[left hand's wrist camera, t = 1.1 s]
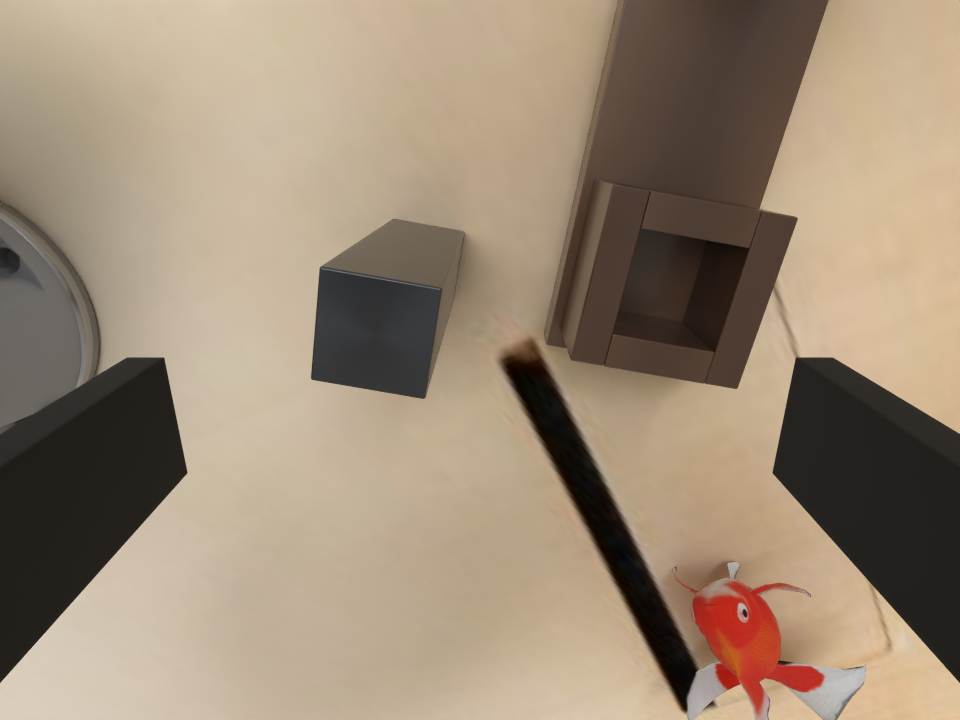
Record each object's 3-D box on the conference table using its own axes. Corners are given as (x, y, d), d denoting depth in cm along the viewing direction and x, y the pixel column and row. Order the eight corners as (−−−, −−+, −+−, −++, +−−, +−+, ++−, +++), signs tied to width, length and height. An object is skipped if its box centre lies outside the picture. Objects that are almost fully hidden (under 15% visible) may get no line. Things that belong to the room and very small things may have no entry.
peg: (384, 289, 33) (310, 380, 20) (393, 218, 32) (319, 266, 19) (453, 301, 33) (424, 400, 20) (464, 231, 32) (442, 288, 19)
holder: (543, 334, 34) (567, 426, 22) (670, -234, 25) (814, -553, 14) (693, 360, 34) (791, 464, 23) (871, -192, 25) (1175, -469, 14)
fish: (863, 525, 32) (912, 735, 26) (844, 621, 42) (875, 786, 36) (661, 521, 36) (661, 701, 30) (689, 609, 47) (693, 755, 41)
